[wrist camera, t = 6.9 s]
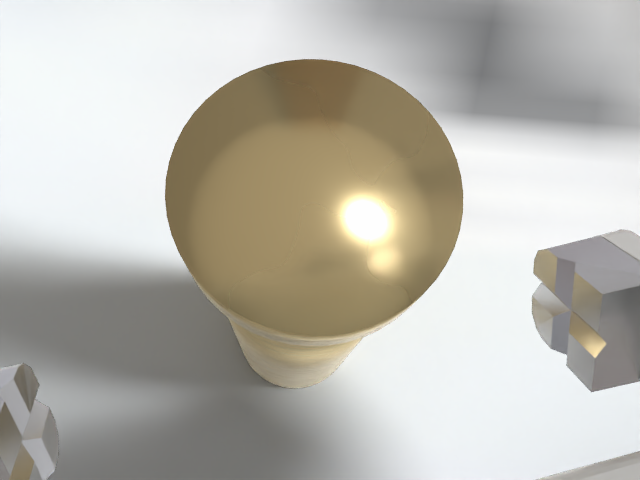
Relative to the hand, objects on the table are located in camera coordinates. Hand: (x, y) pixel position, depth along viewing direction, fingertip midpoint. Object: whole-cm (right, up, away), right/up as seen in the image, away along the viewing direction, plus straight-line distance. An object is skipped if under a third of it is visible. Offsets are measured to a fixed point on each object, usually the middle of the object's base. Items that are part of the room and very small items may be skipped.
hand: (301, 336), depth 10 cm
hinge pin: (0, -1, +7) cm, 7 cm away
